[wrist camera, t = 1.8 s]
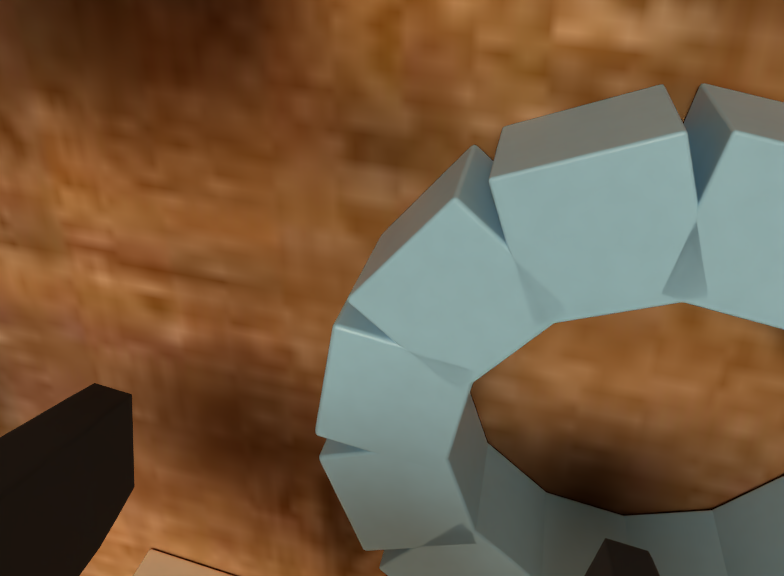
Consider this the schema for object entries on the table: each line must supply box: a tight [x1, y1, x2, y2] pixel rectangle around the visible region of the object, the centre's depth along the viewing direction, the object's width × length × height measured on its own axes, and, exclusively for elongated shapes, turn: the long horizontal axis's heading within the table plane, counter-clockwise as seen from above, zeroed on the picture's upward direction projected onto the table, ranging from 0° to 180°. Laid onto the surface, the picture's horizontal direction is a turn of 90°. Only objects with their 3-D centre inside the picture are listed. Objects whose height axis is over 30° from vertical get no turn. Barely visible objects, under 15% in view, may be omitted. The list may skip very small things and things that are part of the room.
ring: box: [315, 84, 784, 576], centre depth 13 cm, size 12×12×3 cm
